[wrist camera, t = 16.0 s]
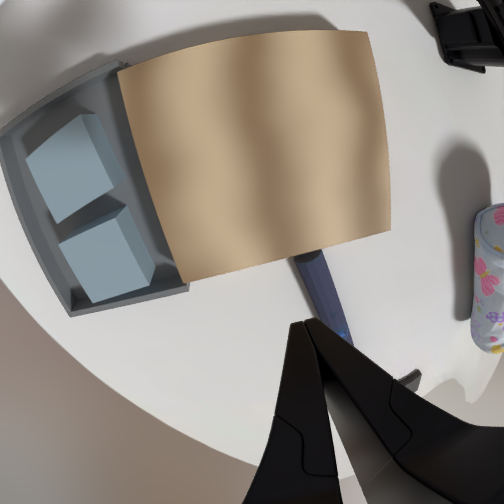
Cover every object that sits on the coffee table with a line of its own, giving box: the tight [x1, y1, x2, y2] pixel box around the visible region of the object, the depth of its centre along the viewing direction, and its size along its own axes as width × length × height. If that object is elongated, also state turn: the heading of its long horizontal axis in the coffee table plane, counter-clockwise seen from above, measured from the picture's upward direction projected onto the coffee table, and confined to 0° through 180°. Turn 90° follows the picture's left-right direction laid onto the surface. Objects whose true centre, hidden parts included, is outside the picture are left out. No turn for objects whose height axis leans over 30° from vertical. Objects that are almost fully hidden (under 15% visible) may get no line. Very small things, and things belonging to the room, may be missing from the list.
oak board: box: [117, 30, 391, 283], centre depth 16 cm, size 15×14×2 cm
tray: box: [0, 60, 190, 317], centre depth 16 cm, size 11×16×2 cm
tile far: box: [58, 205, 156, 303], centre depth 17 cm, size 5×5×2 cm
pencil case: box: [470, 203, 504, 354], centre depth 22 cm, size 21×9×10 cm, turn 32°
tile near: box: [26, 114, 126, 224], centre depth 14 cm, size 5×5×2 cm
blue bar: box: [294, 249, 422, 392], centre depth 28 cm, size 34×2×12 cm
